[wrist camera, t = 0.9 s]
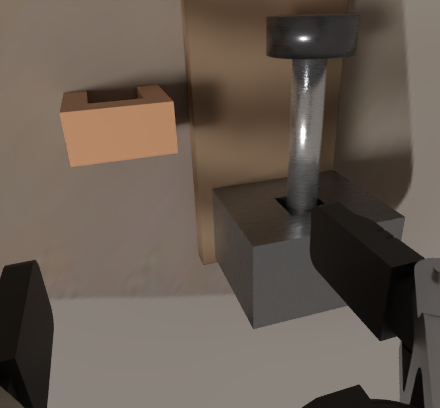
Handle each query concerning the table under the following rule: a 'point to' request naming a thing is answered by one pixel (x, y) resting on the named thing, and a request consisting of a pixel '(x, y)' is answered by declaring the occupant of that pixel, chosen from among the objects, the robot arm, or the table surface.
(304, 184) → the shaft
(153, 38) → the table surface
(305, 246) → the block
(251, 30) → the baseboard
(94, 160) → the spacer
